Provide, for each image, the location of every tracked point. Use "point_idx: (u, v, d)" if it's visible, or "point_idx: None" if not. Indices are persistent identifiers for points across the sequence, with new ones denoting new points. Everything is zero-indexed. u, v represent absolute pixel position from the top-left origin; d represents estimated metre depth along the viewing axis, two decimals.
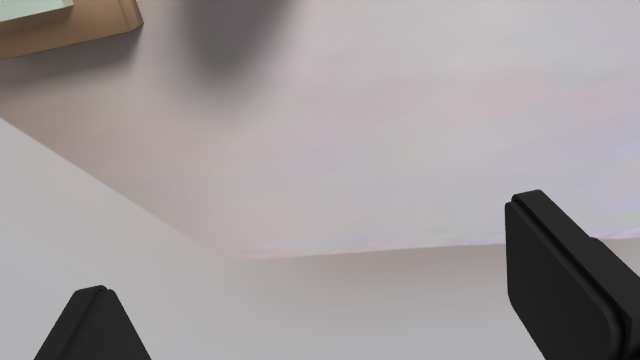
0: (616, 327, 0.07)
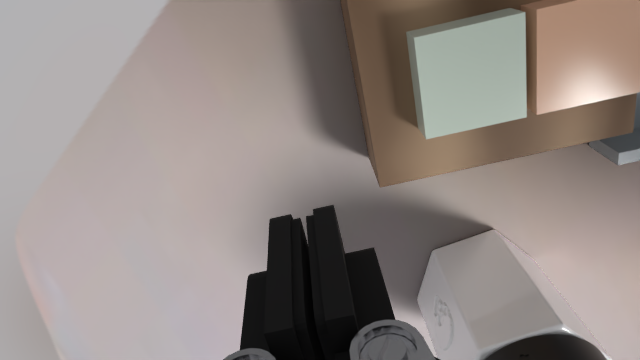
0: (322, 327, 0.08)
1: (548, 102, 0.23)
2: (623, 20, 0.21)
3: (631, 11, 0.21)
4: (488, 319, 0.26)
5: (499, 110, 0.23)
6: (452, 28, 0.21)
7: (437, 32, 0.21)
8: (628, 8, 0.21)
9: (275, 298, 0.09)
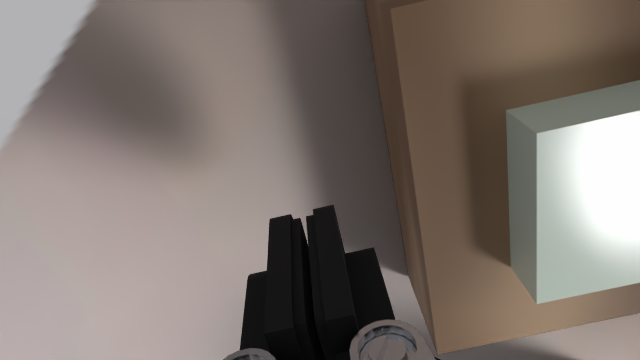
0: (322, 327, 0.08)
1: None
2: None
3: None
4: None
5: None
6: (614, 113, 0.10)
7: (584, 122, 0.10)
8: None
9: (275, 298, 0.09)
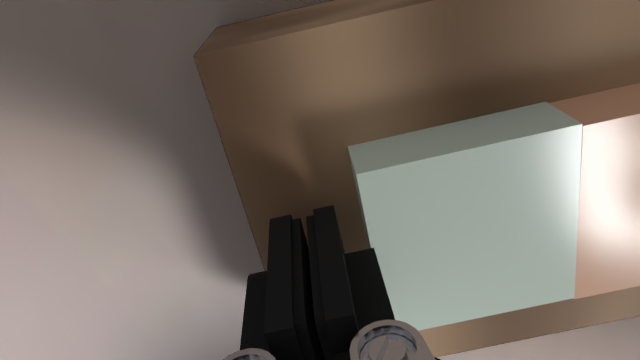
0: (321, 327, 0.08)
1: (596, 279, 0.12)
2: None
3: None
4: None
5: (524, 289, 0.12)
6: (433, 154, 0.10)
7: (403, 163, 0.10)
8: None
9: (275, 298, 0.09)
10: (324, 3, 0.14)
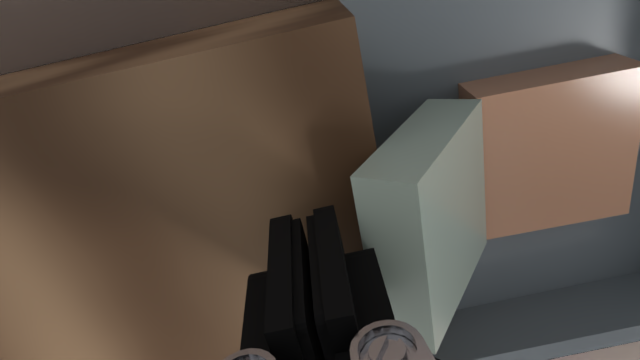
0: (321, 327, 0.08)
1: None
2: None
3: None
4: None
5: (474, 249, 0.14)
6: (439, 147, 0.11)
7: (432, 161, 0.10)
8: None
9: (275, 298, 0.09)
10: None
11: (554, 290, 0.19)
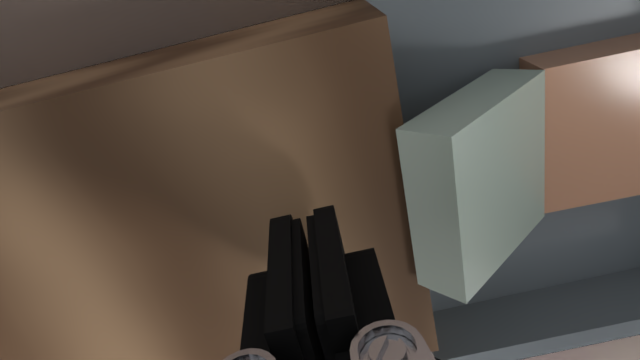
0: (321, 327, 0.08)
1: None
2: None
3: None
4: None
5: (526, 218, 0.15)
6: (485, 109, 0.12)
7: (473, 120, 0.11)
8: None
9: (275, 298, 0.09)
10: (29, 82, 0.15)
11: (575, 281, 0.19)
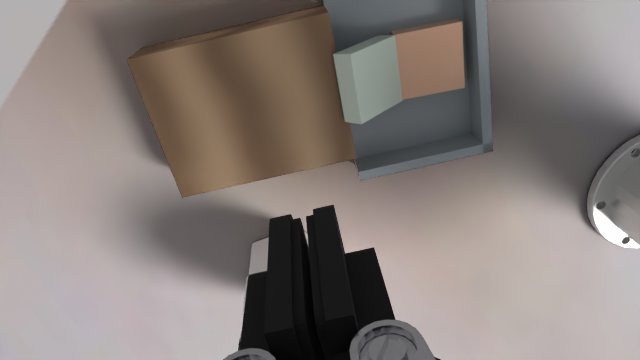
0: (322, 327, 0.08)
1: None
2: None
3: None
4: None
5: (391, 98, 0.35)
6: (365, 47, 0.32)
7: (360, 50, 0.32)
8: None
9: (275, 298, 0.09)
10: (183, 38, 0.35)
11: (429, 142, 0.40)
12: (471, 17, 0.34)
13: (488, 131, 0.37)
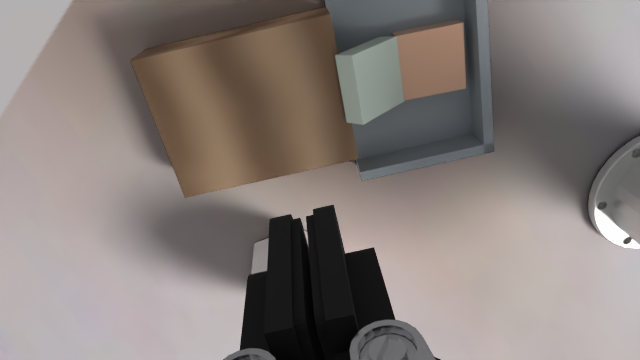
0: (321, 327, 0.08)
1: None
2: None
3: None
4: None
5: (392, 98, 0.35)
6: (367, 48, 0.33)
7: (361, 51, 0.32)
8: None
9: (275, 298, 0.09)
10: (187, 39, 0.35)
11: (430, 143, 0.40)
12: (472, 18, 0.34)
13: (489, 132, 0.37)
